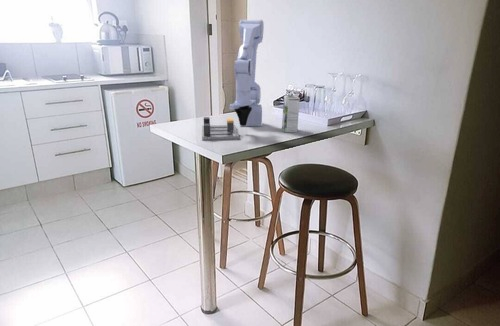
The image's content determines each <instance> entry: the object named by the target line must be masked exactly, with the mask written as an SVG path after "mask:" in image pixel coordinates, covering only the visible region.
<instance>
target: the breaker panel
mask: <svg viewBox="0 0 500 326" xmlns="http://www.w3.org/2000/svg"><path fill="white" fill-rule="evenodd" d="M228 140H229V141H231V140H232V141H234V140H240V135H239V131H238V130H237V125H235V124H234V131H228V130H227V124H225V125H224V124H222V125H220V124H219V125H211V122H210V116H208V117H207V116H205V117H203V125H201V141H228Z"/></svg>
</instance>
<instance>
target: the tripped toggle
mask: <svg viewBox="0 0 500 326" xmlns="http://www.w3.org/2000/svg"><path fill="white" fill-rule="evenodd" d="M226 125H227V130H228V131H234V125H235V123H234V118H227V119H226Z"/></svg>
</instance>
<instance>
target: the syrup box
mask: <svg viewBox="0 0 500 326" xmlns="http://www.w3.org/2000/svg"><path fill="white" fill-rule="evenodd" d="M300 101H301V99H300V97H299V96H298V95H296V94H286V95H283V108H282V125H281V129H282V131H283V133H298V127H299V112H300Z"/></svg>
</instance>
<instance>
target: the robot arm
mask: <svg viewBox="0 0 500 326" xmlns="http://www.w3.org/2000/svg"><path fill="white" fill-rule="evenodd" d="M264 24H265V23H264V21H263V19H240V20H239V24H238V32H239V36H240V40H241V42H242V45H240V46H239V48H238V53H237V59H236V60H234V65H233V70H234V71H233V72H234V79H235V101H234V102H233V103H231V104H229V106H228V108H229V109H228V110H231V111H235V113H236V115H237V119H238V124H239V126H240V127H262V126H263V123H262V122H263V107H262V104H260V102H261V93H262V92H261V86H260V85H259V83H257V82H256V81H255V80H256V67H257V65H256V64H257V53H258V52H257V50H258V47H259V44H261V43H263V39H264V28H265V27H264Z"/></svg>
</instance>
